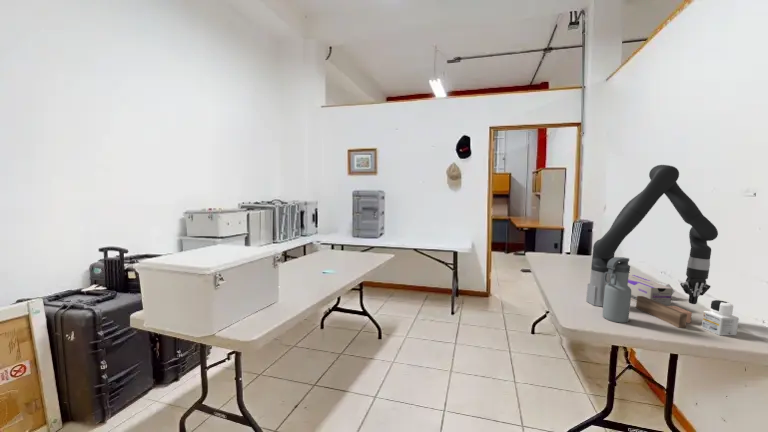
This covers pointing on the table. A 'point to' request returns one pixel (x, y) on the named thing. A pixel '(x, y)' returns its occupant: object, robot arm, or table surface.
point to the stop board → (662, 311)
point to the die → (667, 286)
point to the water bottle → (617, 291)
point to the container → (720, 319)
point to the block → (683, 312)
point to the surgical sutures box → (649, 290)
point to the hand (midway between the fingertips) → (692, 303)
